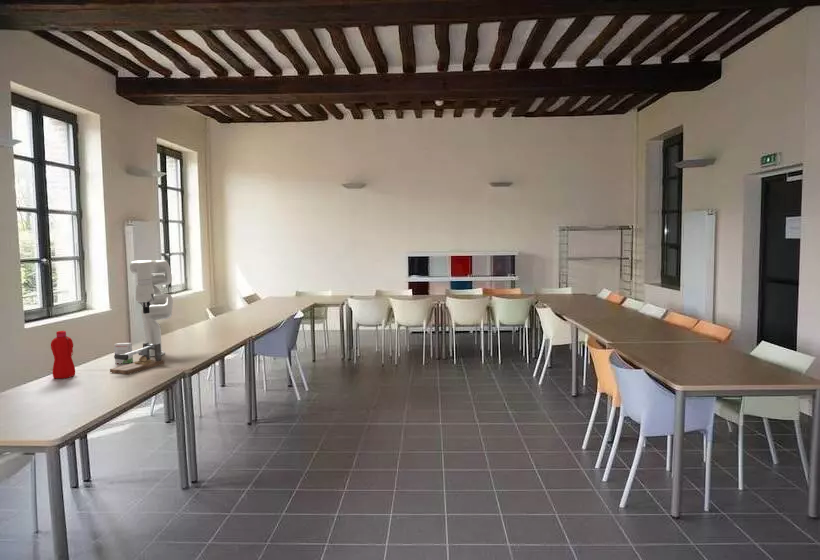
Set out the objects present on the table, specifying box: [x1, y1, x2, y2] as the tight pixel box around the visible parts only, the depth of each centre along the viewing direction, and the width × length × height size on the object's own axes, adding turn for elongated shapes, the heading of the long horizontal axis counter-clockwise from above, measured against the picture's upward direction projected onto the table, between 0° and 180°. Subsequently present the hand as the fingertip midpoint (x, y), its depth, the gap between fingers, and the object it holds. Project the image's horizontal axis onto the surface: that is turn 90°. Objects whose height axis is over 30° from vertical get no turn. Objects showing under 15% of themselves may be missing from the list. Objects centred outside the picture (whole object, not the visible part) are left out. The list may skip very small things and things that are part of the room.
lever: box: [113, 344, 155, 360], centre depth 319 cm, size 25×7×4 cm, turn 160°
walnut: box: [138, 355, 147, 362], centre depth 323 cm, size 4×4×4 cm
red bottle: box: [50, 330, 76, 380], centre depth 301 cm, size 9×11×25 cm
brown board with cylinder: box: [109, 342, 165, 375], centre depth 319 cm, size 13×26×12 cm, turn 160°
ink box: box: [113, 342, 134, 365], centre depth 333 cm, size 8×5×12 cm, turn 92°
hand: (146, 313), depth 334 cm, fingers closed
